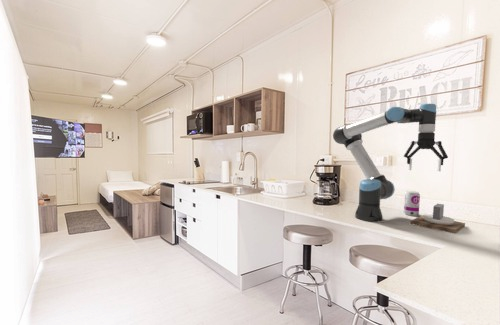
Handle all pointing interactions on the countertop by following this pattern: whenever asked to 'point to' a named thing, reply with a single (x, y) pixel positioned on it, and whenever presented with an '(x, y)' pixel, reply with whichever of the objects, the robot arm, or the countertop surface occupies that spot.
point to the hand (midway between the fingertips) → (424, 170)
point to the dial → (438, 216)
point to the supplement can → (412, 203)
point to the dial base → (439, 225)
